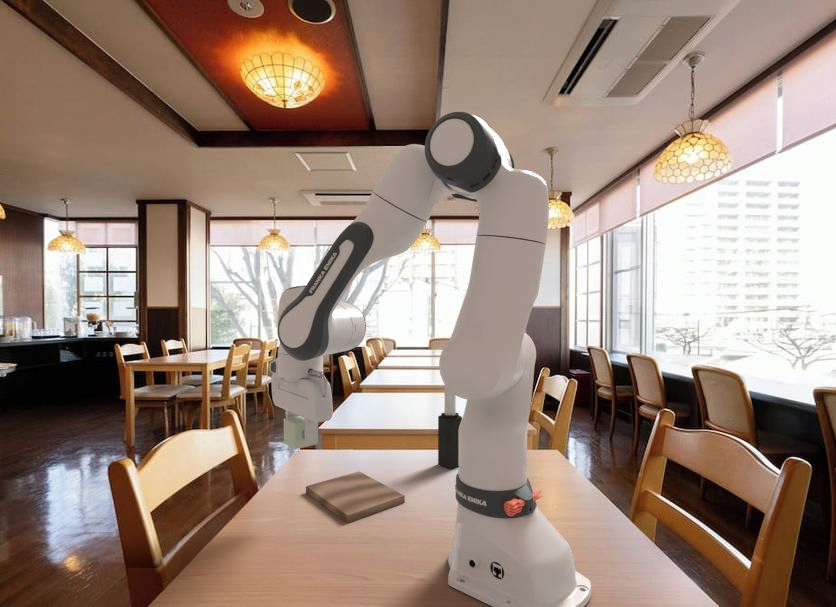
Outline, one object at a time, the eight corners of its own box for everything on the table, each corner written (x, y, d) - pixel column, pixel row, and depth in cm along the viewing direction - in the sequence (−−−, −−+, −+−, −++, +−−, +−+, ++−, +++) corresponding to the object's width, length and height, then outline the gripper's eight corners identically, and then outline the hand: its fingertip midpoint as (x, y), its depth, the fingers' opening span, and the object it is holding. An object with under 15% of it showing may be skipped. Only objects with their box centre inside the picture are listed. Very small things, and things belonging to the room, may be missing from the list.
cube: (317, 444, 91) (317, 419, 91) (294, 449, 88) (294, 423, 88) (306, 438, 95) (306, 414, 95) (283, 443, 92) (283, 418, 91)
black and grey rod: (450, 460, 123) (450, 367, 123) (463, 465, 119) (463, 370, 119) (436, 464, 120) (436, 369, 120) (449, 470, 116) (449, 372, 116)
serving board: (404, 502, 97) (404, 495, 97) (347, 523, 88) (347, 515, 88) (359, 477, 111) (359, 471, 111) (305, 492, 102) (305, 486, 102)
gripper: (341, 371, 85) (341, 444, 85) (293, 360, 101) (294, 422, 101) (310, 374, 81) (310, 451, 81) (266, 362, 97) (266, 427, 97)
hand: (300, 435), depth 91 cm, fingers closed on cube, 5 cm apart
